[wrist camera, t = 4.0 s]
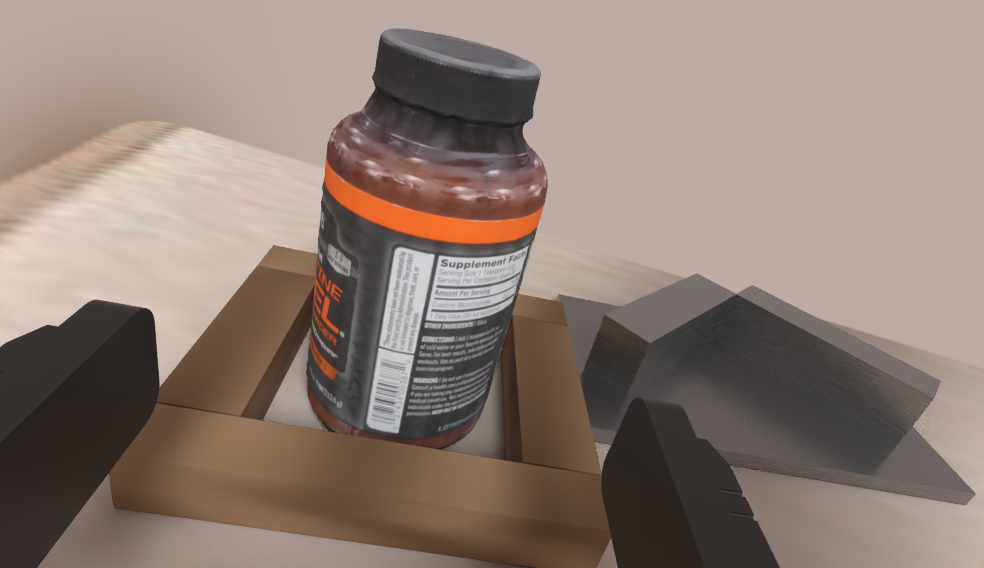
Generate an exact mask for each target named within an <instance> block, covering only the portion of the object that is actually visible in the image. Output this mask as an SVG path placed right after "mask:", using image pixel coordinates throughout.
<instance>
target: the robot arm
mask: <svg viewBox="0 0 984 568" xmlns="http://www.w3.org/2000/svg"><path fill="white" fill-rule="evenodd" d="M158 394H159V371H158V358H157V345H156V332H155V321H154V316H153V314H152V312H151V311H150V310H149V309H147V308H142V307H136V306H130V305H125V304H119V303H113V302H108V301H102V300H92V301H90V302H88V303H87V304H85V305H84V306H83V307H82V308H80V309H79V310H78V311H77V312H76V313H74V314H73V315H72V316H71V317H69V318H68V319H67V320H66V321H65V322H63V323H62V324H61V325H60V326H59V327H57V326H51V325H46V326H44V327H41V328H39V329H37V330H34V331H32V332H30V333H27V334H25V335H23V336H20V337H18V338H16V339H13V340H11V341H9V342H7V343H5V344H4V345H3V346H1V347H0V568H37V567H38V566H39V564H40V563H41V562H42V560H43V559H44V558H45V556H46V555H47V554H48V552H49V551H50V550H51V548H52V547H53V546H54V545H55V543H56V542H57V541H58V539H59V538H60V537H61V535H62V534H63V533H64V531H65V530H66V529H67V527H68V526H69V525H70V523H71V522H72V521H73V519H74V518H75V517H76V516H77V514H78V513H79V512H80V510H81V509H82V508H83V506H84V505H85V504H86V502H87V501H88V500H89V498H90V497H91V496H92V494H93V493H94V492H95V490H96V489H97V488H98V487H99V485H100V484H101V483H102V481H103V480H104V479H105V477H106V476H107V475H108V473H109V472H110V471H111V469H112V468H113V467H114V465H115V464H116V463H117V461H118V460H119V459H120V458H121V456H122V455H123V454H124V452H125V451H126V450H127V448H128V447H129V446H130V444H131V443H132V442H133V440H134V439H135V438H136V436H137V435H138V434H139V432H140V431H141V430H142V429H143V427H144V426H145V425H146V423H147V422H148V420H149V418H150V417H151V415H152V413H153V410H154V408H155V405H156V402H157V398H158ZM601 489H602V497H603V501H604V506H605V511H606V515H607V520H608V524H609V529H610V533H611V538H612V543H613V547H614V552H615V556H616V561H617V566H618V568H780V567H779V565H778V563H777V561H776V559H775V557H774V555H773V553H772V551H771V549H770V547H769V545H768V543H767V541H766V539H765V537H764V535H763V532H762V530H761V528H760V526H759V524H758V522H757V521H754V519H753V516H754V514H753V512H752V510H751V508H750V506H749V504H748V502H747V500H746V498H745V497H742V490H741V488H740V486H739V484H738V482H737V479H736V477H735V475H734V473H733V471H732V469H731V467H730V465H729V464H728V463H727V462H726V460H725V459H724V458H723V457H722V456H721V455H720V454H719V453H718V452H717V450H716V449H715V448H714V447H713V446H712V445H711V444H710V443H709V442H708V440H707V439H702V438H697V437H696V434H695V432H694V430H693V428H692V425H691V423H690V421H689V419H688V416H687V414H686V412H685V410H684V408H683V407H682V406H681V405H679V404H674V403H668V402H663V401H657V400H652V399H646V398H640V397H637V398H635V399H634V400H633V401H632V402H631V403H630V405H629V407H628V409H627V411H626V414H625V416H624V418H623V420H622V423H621V425H620V427H619V429H618V431H617V434H616V436H615V438H614V440H613V443H612V445H611V447H610V449H609V451H608V454H607V456H606V458H605V461H604V465H603V470H602V478H601Z"/></svg>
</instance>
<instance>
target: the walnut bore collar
mask: <svg viewBox="0 0 984 568" xmlns="http://www.w3.org/2000/svg"><path fill="white" fill-rule="evenodd" d="M317 255H318V254H315V253H310V252H305V251H300V250H295V249H290V248H285V247H280V246H275V245H273V247H272V248H271V249H270V250H269V252H268V253H267V254H266V255H265V257H264V258H263V259H262V260H261V262H260V263H259V264H258V266H257V267H256V268H255V269H254V270H253V272H252V273H251V274H250V275H249V277H248V278H247V279H246V280H245V282H244V283H243V284H242V285H241V287H240V288H239V289H238V290H237V292H236V293H235V294H234V295H233V297H232V298H231V299H230V300H229V302H228V303H227V304H226V305H225V307H224V308H223V309H222V310H221V312H220V313H219V314H218V315H217V317H216V318H215V319H214V320H213V322H212V323H211V324H210V325H209V327H208V328H207V329H206V330H205V332H204V333H203V334H202V335H201V337H200V338H199V339H198V340H197V342H196V343H195V344H194V345H193V347H192V348H191V349H190V350H189V352H188V353H187V354H186V355H185V357H184V358H183V359H182V360H181V362H180V363H179V364H178V365H177V367H176V368H175V369H174V370H173V372H172V373H171V374H170V375H169V377H168V378H167V379H166V380H165V382H164V383H163V384H162V385H161V387H160V388H159V394H158V398H157V402H156V405H155V408H154V410H153V413H152V415H151V417H150V418H149V420H148V422H147V423H146V425H145V426H144V427H143V429H142V430H141V431H140V432H139V434H138V435H137V436H136V438H135V439H134V440H133V442H132V443H131V444H130V446H129V447H128V448H127V450H126V451H125V452H124V454H123V455H122V456H121V458H120V459H119V460H118V461H117V463H116V464H115V465H114V467H113V468H112V469H111V471H110V472H109V476H110V484H111V491H112V498H113V505H114V508H121V509H128V510H135V511H142V512H149V513H156V514H163V515H170V516H177V517H184V518H191V519H198V520H205V521H212V522H219V523H226V524H233V525H240V526H247V527H254V528H261V529H268V530H275V531H282V532H289V533H296V534H303V535H310V536H317V537H324V538H331V539H338V540H345V541H352V542H359V543H366V544H373V545H380V546H387V547H394V548H402V549H409V550H416V551H423V552H430V553H437V554H444V555H451V556H458V557H465V558H472V559H479V560H486V561H493V562H500V563H507V564H514V565H521V566H528V567H535V568H596V567H597V565H598V563H599V561H600V559H601V557H602V555H603V553H604V551H605V549H606V547H607V545H608V543H609V541H610V539H611V533H610V529H609V524H608V520H607V515H606V511H605V506H604V501H603V497H602V489H601V478H602V476H601V475H602V474H601V470H600V465H599V461H598V456H597V452H596V448H595V443H594V439H593V434H592V430H591V425H590V421H589V417H588V412H587V408H586V403H585V399H584V394H583V390H582V386H581V381H580V377H579V372H578V368H577V364H576V359H575V355H574V350H573V346H572V341H571V337H570V333H569V328H568V324H567V319H566V315H565V311H564V306H563V303H562V302H557V301H552V300H547V299H542V298H537V297H532V296H527V295H522V294H518V296H517V300H516V303H515V306H514V310H513V313H512V316H511V319H510V323H509V326H508V329H507V333H506V336H505V340H504V343H503V346H502V349H501V351H502V369H503V398H504V427H505V456H506V460H499V459H493V458H487V457H481V456H475V455H469V454H463V453H457V452H451V451H444V450H438V449H432V448H426V447H420V446H414V445H408V444H402V443H396V442H389V441H383V440H377V439H371V438H365V437H359V436H353V435H347V434H341V433H334V432H328V431H322V430H316V429H310V428H304V427H298V426H292V425H286V424H279V423H273V422H267V421H262V420H263V418H264V416H265V414H266V412H267V410H268V408H269V406H270V404H271V402H272V400H273V398H274V396H275V394H276V393H277V391H278V389H279V387H280V385H281V383H282V381H283V379H284V377H285V375H286V373H287V371H288V369H289V367H290V365H291V363H292V361H293V359H294V357H295V355H296V353H297V351H298V349H299V348H300V346H301V344H302V342H303V340H304V338H305V336H306V334H307V332H308V330H309V328H310V326H311V319H312V308H313V297H314V288H315V279H316V262H317Z"/></svg>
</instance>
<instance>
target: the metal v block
mask: <svg viewBox="0 0 984 568" xmlns="http://www.w3.org/2000/svg"><path fill="white" fill-rule="evenodd" d="M557 302H562V303H563V306H564V311H565V315H566V319H567V324H568V328H569V333H570V337H571V341H572V346H573V350H574V355H575V359H576V364H577V368H578V372H579V377H580V381H581V386H582V390H583V394H584V399H585V403H586V408H587V412H588V417H589V421H590V425H591V430H592V434H593V439H594V442H600V443H606V444H612V443H613V440H614V438H615V436H616V434H617V431H618V429H619V427H620V425H621V423H622V420H623V418H624V416H625V414H626V411H627V409H628V407H629V405H630V403H631V402H632V401H633V400H634V399H635V398H637V397H640V398H646V399H652V400H657V401H663V402H668V403H674V404H679V405H681V406H682V407H683V408H684V410H685V412H686V414H687V416H688V419H689V421H690V423H691V425H692V428H693V430H694V432H695V434H696V437H697V438H702V439H707V440H708V442H709V443H710V444H711V445H712V446H713V447H714V448H715V449H716V450H717V452H718V453H719V454H720V455H721V456H722V457H723V458H724V459H725V460H726V462H727V463H728V464H729V465H735V466H741V467H747V468H753V469H758V470H764V471H770V472H776V473H782V474H788V475H794V476H799V477H805V478H811V479H817V480H823V481H829V482H835V483H840V484H846V485H852V486H858V487H864V488H870V489H876V490H881V491H887V492H893V493H899V494H905V495H911V496H917V497H922V498H928V499H934V500H940V501H946V502H952V503H958V504H963V505H966V504H967V503H968V502H969V501H970V500H971V499H972V498H973V497H974V496H975V493H974V491H973V490H972V489H971V488H970V487H969V486H968V485H967V484H966V483H965V482H964V481H963V480H962V479H961V478H960V477H959V476H958V474H957V473H956V472H955V471H954V470H953V469H952V468H951V467H950V466H949V465H948V464H947V463H946V462H945V461H944V460H943V459H942V457H941V456H940V455H939V454H938V453H937V452H936V451H935V450H934V449H933V448H932V447H931V446H930V445H929V444H928V443H927V442H926V440H925V439H924V438H923V437H922V436H921V435H920V434H919V433H918V432H917V431H916V430H915V429H914V428H913V427H912V426H913V425H914V423H915V422H916V421H917V419H918V418H919V417H920V416H921V414H922V413H923V412H924V410H925V409H926V408H927V407H928V405H929V404H930V403H931V402H932V400H933V399H934V397H935V395H936V392H937V389H938V387H939V384H940V382H941V381H940V380H938V379H936V378H934V377H932V376H930V375H928V374H926V373H924V372H922V371H920V370H918V369H916V368H914V367H912V366H910V365H909V364H907V363H905V362H903V361H901V360H899V359H897V358H895V357H893V356H891V355H889V354H887V353H885V352H883V351H881V350H879V349H877V348H875V347H873V346H871V345H869V344H867V343H865V342H863V341H861V340H859V339H857V338H855V337H853V336H851V335H849V334H847V333H845V332H844V331H842V330H840V329H838V328H836V327H834V326H832V325H830V324H828V323H826V322H824V321H822V320H820V319H818V318H816V317H814V316H812V315H810V314H808V313H806V312H804V311H802V310H800V309H798V308H796V307H794V306H792V305H790V304H788V303H786V302H784V301H782V300H780V299H778V298H777V297H775V296H773V295H771V294H769V293H767V292H765V291H763V290H761V289H759V288H757V287H755V286H753V285H752V286H750V287H748V288H747V289H745V290H743V291H741V292H740V293H738V294H735V293H733V292H731V291H729V290H727V289H725V288H723V287H722V286H720V285H718V284H716V283H714V282H712V281H710V280H708V279H706V278H704V277H702V276H701V275H699V274H695V275H693V276H690V277H688V278H686V279H683V280H681V281H679V282H677V283H674V284H672V285H670V286H668V287H665V288H663V289H661V290H659V291H656V292H654V293H652V294H650V295H647V296H645V297H643V298H641V299H638V300H636V301H634V302H632V303H629V304H627V305H625V306H622V307H619V306H614V305H609V304H604V303H599V302H594V301H589V300H584V299H579V298H574V297H569V296H564V295H559V294H558V297H557ZM727 311H728V312H727ZM726 313H727V314H726ZM725 315H726V316H725ZM724 317H725V318H724ZM723 319H724V320H723ZM722 321H723V322H722ZM721 323H722V324H721ZM720 325H721V326H720Z"/></svg>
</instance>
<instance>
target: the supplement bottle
mask: <svg viewBox="0 0 984 568" xmlns="http://www.w3.org/2000/svg"><path fill="white" fill-rule="evenodd" d="M540 76H541V73H540V70H539V69H538V67H537V66H536V65H535V64H533V63H532V62H529V61H527V60H524V59H522V58H520V57H518V56H516V55H513V54H511V53H508V52H505V51H503V50H500V49H497V48H493V47H490V46H486V45H483V44H480V43H477V42H472V41H468V40H464V39H460V38H456V37H451V36H446V35H440V34H434V33H429V32H423V31H417V30H410V29H389V30H386V31H384V32H383V33H382V34H381V36H380V41H379V47H378V54H377V60H376V67H375V72H374V74H373V76H372V78H373V81H374V84H375V87H376V88H375V91H374V92H373V94H372V95H371V97H370V98H369V100H368V102H367V103H366V105H365V106H364V108H363V110H361V111H359V112H356V113H354V114H350V115H348V116H347V117H346V118H344V119H343V120H341V121H340V122H339V124H338V125H337V126H336V127H335V128H334V129H333V132H332V133H331V137H330V140H329V142H328V147H327V155H326V166H325V178H324V182H323V187H322V189H323V197H322V201H321V220H320V228H319V236H318V255H317V262H316V279H315V288H314V297H313V308H312V319H311V333H310V344H309V352H308V362H307V372H306V373H307V376H308V396H309V399H310V402H311V405H312V408H313V409H314V411H315V413H316V414H317V416H318V417H319V419H320V420H321V421H322V422H323V423H324V424H325V426H326V427H327V428H328V429H329V430H330V431H332V432H334V433H341V434H347V435H353V436H359V437H365V438H371V439H377V440H383V441H389V442H396V443H402V444H408V445H414V446H420V447H426V448H432V449H438V450H441V449H443V448H445V447H448V446H450V445H453V444H455V443H456V442H458V441H459V440H461V439H462V438H464V437H465V436H466V435H467V434H468V433H469V432H470V431H471V430H472V429H473V428H474V426H475V424H476V422H477V421H478V419H479V418H480V415H481V412H482V410H483V408H484V405H485V402H486V400H487V397H488V394H489V391H490V386H491V383H492V380H493V376H494V373H495V370H496V366H497V363H498V360H499V357H500V353H501V349H502V346H503V343H504V340H505V336H506V333H507V329H508V326H509V323H510V319H511V316H512V313H513V310H514V306H515V303H516V300H517V296H518V292H519V289H520V286H521V282H522V279H523V275H524V272H525V269H526V265H527V262H528V259H529V255H530V252H531V248H532V245H533V241H534V238H535V234H536V230H537V226H538V223H539V220H540V217H541V213H542V210H543V206H544V203H545V198H546V192H547V174H546V170H545V167H544V165H543V162H542V161H541V159H540V158H539V156H538V155H537V154H536V152H535V151H534V150H533V149H532V148H530V147H529V145H528V144H527V142H526V141H525V139H524V137H523V132H522V131H523V130H522V129H523V125H524V124H525V123H526V122H528V121H529V120H530V119H532V117H533V105H534V101H535V96H536V92H537V88H538V85H539V80H540Z"/></svg>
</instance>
